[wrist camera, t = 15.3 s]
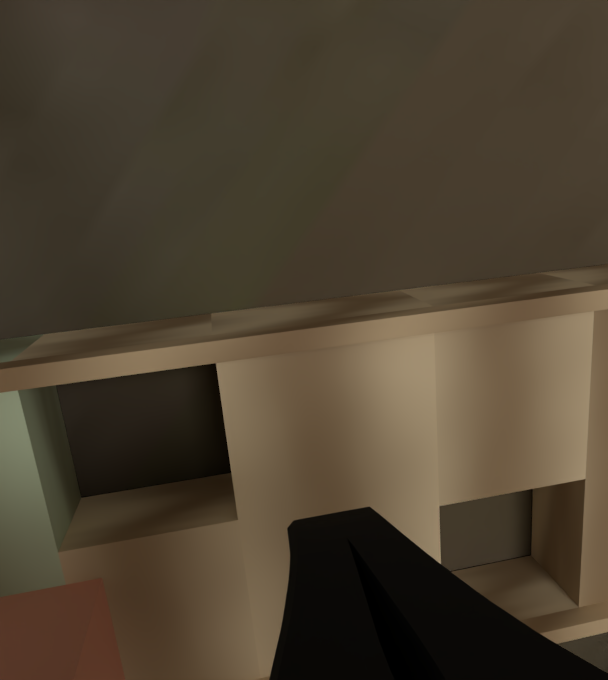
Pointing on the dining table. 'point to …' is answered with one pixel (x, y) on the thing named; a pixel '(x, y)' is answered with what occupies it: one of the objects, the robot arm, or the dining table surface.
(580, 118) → the dining table surface
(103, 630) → the brick block
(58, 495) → the trap tray
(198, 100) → the dining table surface
